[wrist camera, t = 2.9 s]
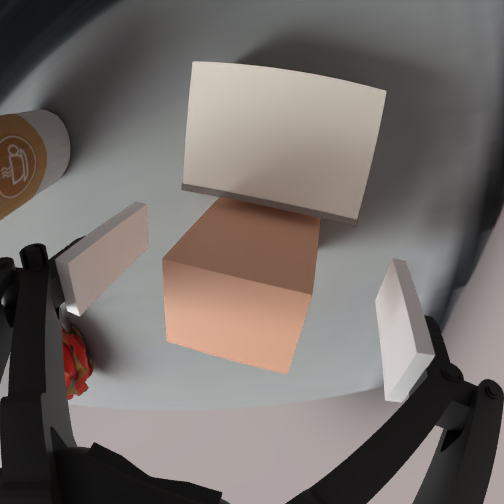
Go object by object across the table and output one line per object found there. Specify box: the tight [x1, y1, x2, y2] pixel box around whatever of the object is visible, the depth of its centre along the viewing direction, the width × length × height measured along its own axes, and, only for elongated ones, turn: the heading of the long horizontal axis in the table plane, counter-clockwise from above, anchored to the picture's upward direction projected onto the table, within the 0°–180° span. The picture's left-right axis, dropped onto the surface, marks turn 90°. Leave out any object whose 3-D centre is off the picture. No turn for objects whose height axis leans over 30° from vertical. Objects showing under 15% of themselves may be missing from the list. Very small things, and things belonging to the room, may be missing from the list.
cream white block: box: [182, 61, 387, 226], centre depth 15 cm, size 6×8×5 cm
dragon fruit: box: [62, 324, 94, 400], centre depth 30 cm, size 8×8×12 cm
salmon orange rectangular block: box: [163, 197, 321, 374], centre depth 15 cm, size 4×5×10 cm
